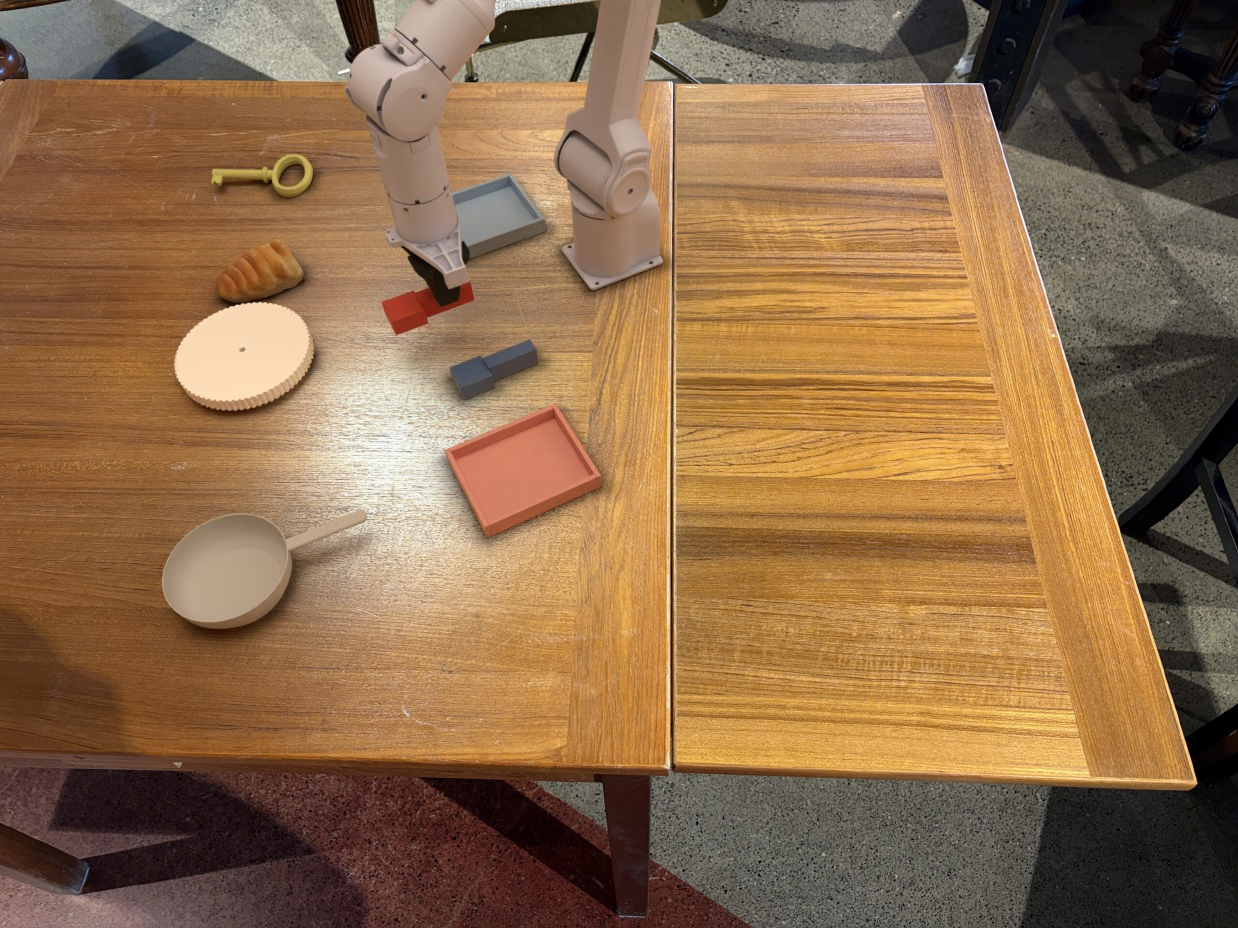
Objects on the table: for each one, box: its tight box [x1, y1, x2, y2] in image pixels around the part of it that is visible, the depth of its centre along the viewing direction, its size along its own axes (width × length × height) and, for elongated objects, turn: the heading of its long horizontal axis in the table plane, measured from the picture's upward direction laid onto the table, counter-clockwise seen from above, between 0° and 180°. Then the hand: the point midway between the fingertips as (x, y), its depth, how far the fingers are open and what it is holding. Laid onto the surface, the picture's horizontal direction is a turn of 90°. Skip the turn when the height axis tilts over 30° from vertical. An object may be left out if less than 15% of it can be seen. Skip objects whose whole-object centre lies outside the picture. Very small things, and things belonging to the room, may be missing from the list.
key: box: [210, 153, 314, 198], centre depth 113 cm, size 7×12×2 cm, turn 112°
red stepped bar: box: [381, 278, 475, 336], centre depth 91 cm, size 9×3×2 cm, turn 117°
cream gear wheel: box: [173, 301, 315, 412], centre depth 95 cm, size 14×14×2 cm
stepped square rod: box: [449, 339, 539, 401], centre depth 94 cm, size 9×3×2 cm, turn 118°
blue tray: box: [452, 172, 547, 260], centre depth 108 cm, size 12×10×2 cm
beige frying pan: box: [161, 509, 368, 630], centre depth 80 cm, size 11×18×4 cm, turn 114°
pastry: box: [216, 238, 305, 304], centre depth 102 cm, size 9×7×4 cm
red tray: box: [444, 403, 603, 539], centre depth 86 cm, size 12×10×2 cm
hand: (444, 294), depth 91 cm, fingers closed on red stepped bar, 1 cm apart
